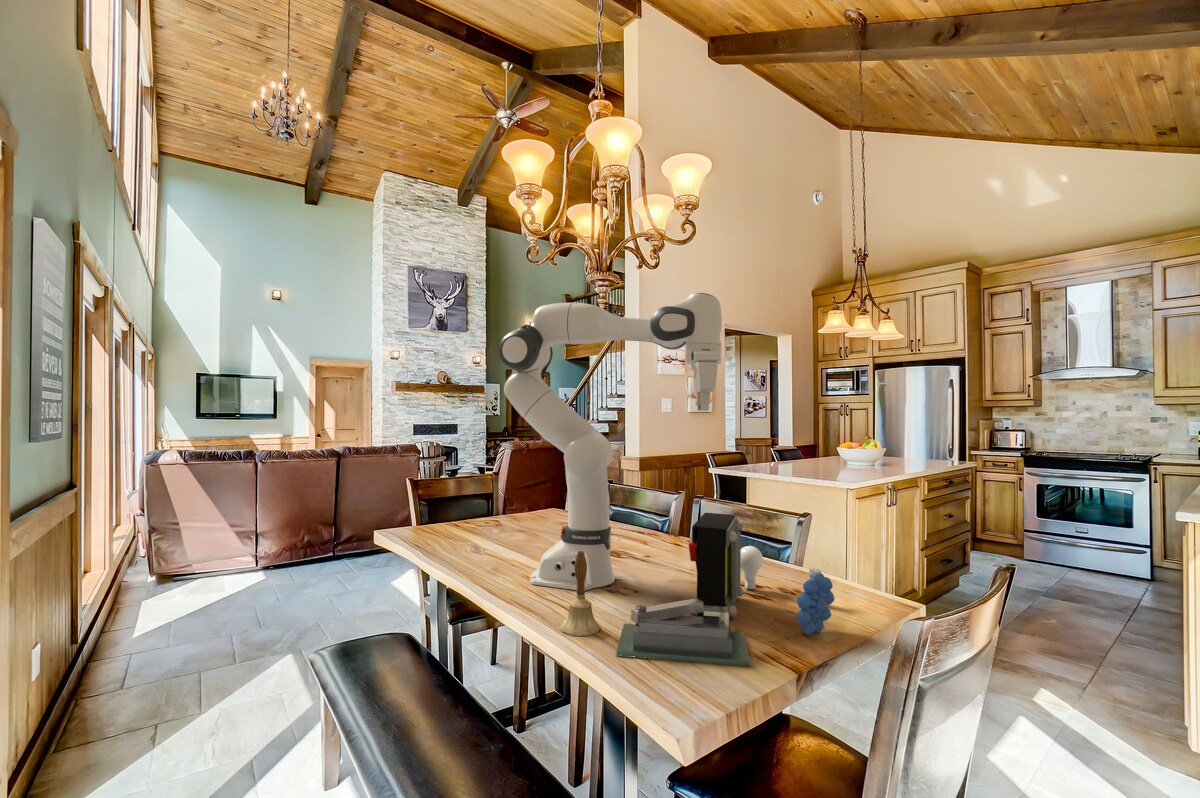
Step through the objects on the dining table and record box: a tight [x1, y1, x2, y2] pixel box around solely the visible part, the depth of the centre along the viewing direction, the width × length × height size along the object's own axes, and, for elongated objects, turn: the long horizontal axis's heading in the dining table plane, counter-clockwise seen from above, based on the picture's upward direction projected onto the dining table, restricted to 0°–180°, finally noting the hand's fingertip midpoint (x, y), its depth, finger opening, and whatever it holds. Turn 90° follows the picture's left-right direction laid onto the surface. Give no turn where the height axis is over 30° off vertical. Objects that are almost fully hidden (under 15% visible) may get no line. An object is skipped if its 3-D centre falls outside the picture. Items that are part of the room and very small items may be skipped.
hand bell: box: [559, 551, 601, 637], centre depth 113 cm, size 8×8×16 cm
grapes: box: [795, 573, 836, 636], centre depth 113 cm, size 12×7×12 cm, turn 127°
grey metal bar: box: [630, 597, 703, 624], centre depth 109 cm, size 16×2×3 cm, turn 116°
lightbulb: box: [741, 545, 764, 591], centre depth 139 cm, size 6×6×11 cm
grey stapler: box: [615, 605, 751, 668], centre depth 105 cm, size 24×13×8 cm, turn 81°
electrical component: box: [688, 512, 744, 618], centre depth 127 cm, size 18×10×20 cm, turn 160°
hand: (702, 410), depth 139 cm, fingers open, 8 cm apart
